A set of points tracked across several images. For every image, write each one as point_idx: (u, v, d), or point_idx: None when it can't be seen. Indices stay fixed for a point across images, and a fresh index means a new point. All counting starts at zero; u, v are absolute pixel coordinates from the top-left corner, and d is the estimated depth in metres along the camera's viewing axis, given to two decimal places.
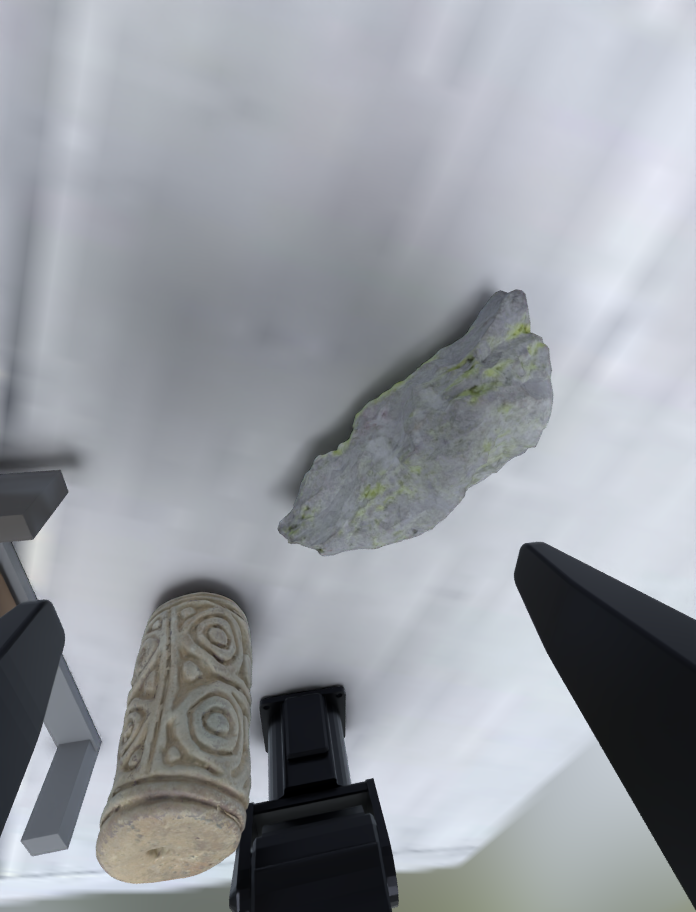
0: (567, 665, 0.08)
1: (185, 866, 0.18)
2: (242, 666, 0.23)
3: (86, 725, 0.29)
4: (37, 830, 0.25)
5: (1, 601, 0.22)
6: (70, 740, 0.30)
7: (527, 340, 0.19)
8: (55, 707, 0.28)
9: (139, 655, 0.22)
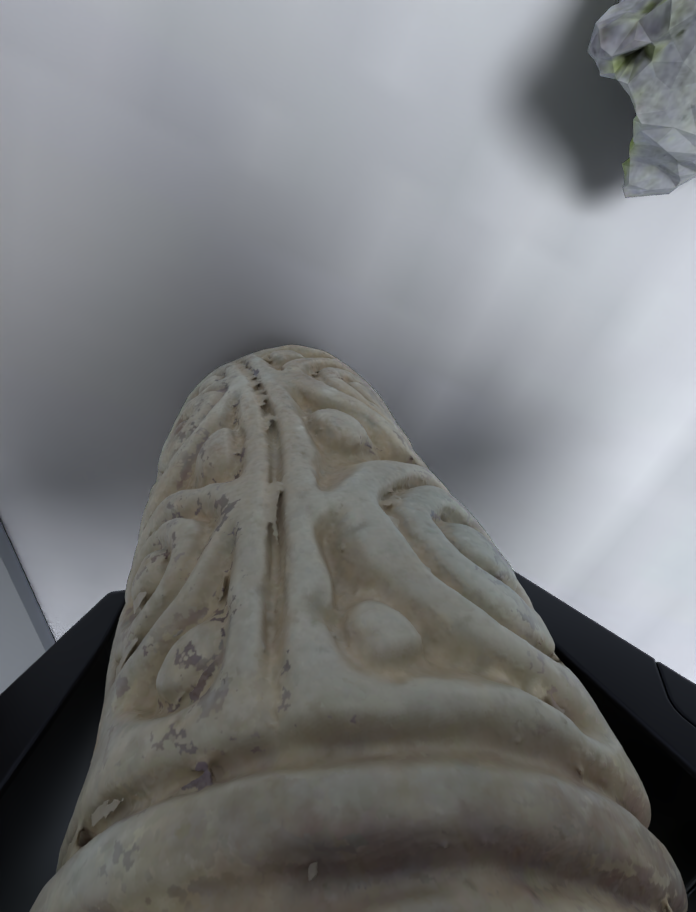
0: None
1: None
2: None
3: None
4: None
5: None
6: None
7: None
8: None
9: (170, 438, 0.08)
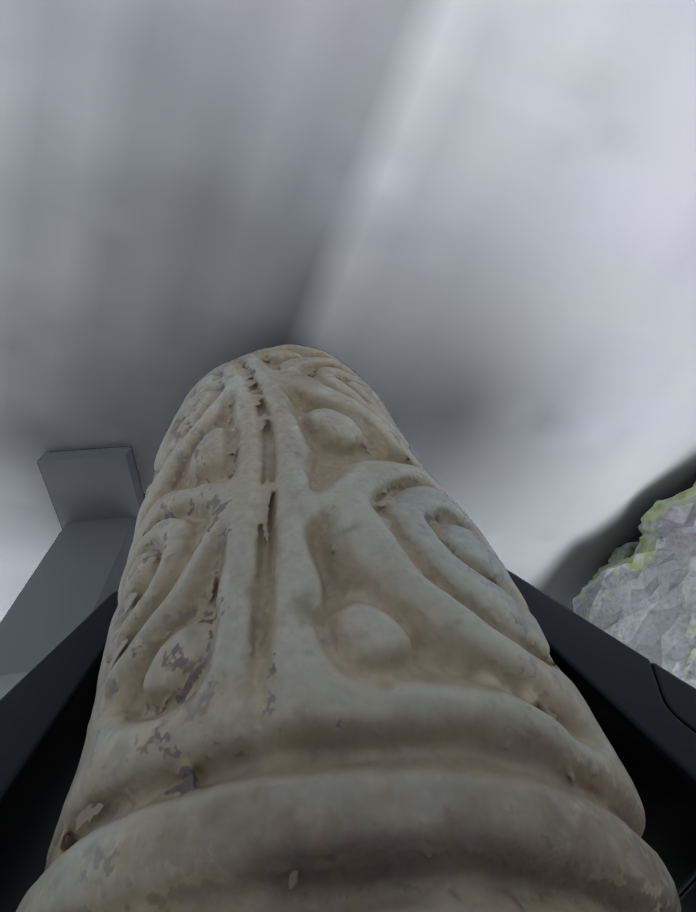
0: None
1: None
2: None
3: None
4: None
5: None
6: None
7: None
8: None
9: (166, 438, 0.08)
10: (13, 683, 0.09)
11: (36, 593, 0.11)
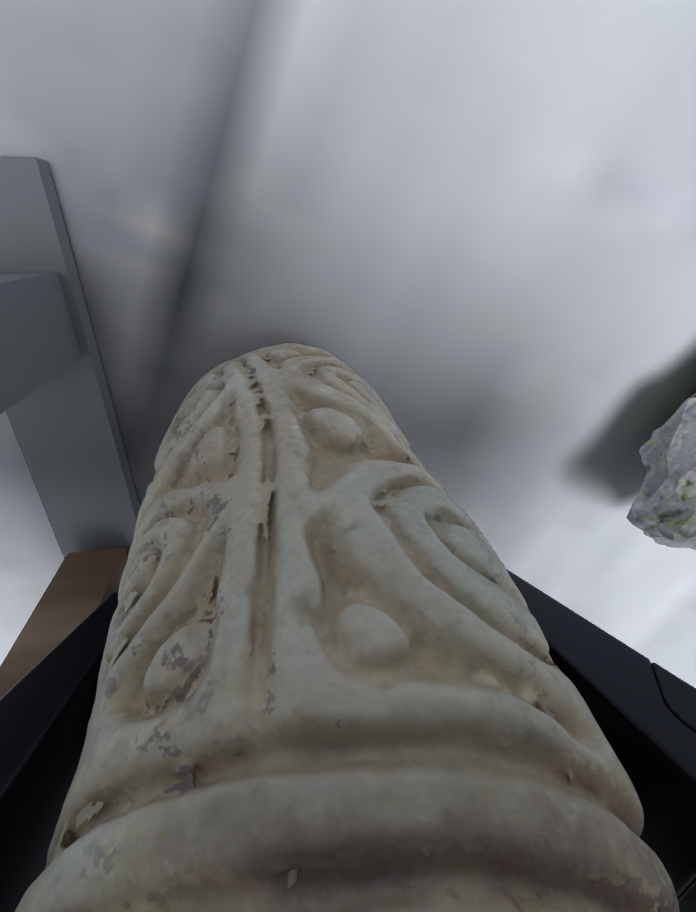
0: None
1: None
2: None
3: None
4: None
5: None
6: None
7: None
8: None
9: (167, 436, 0.08)
10: None
11: None
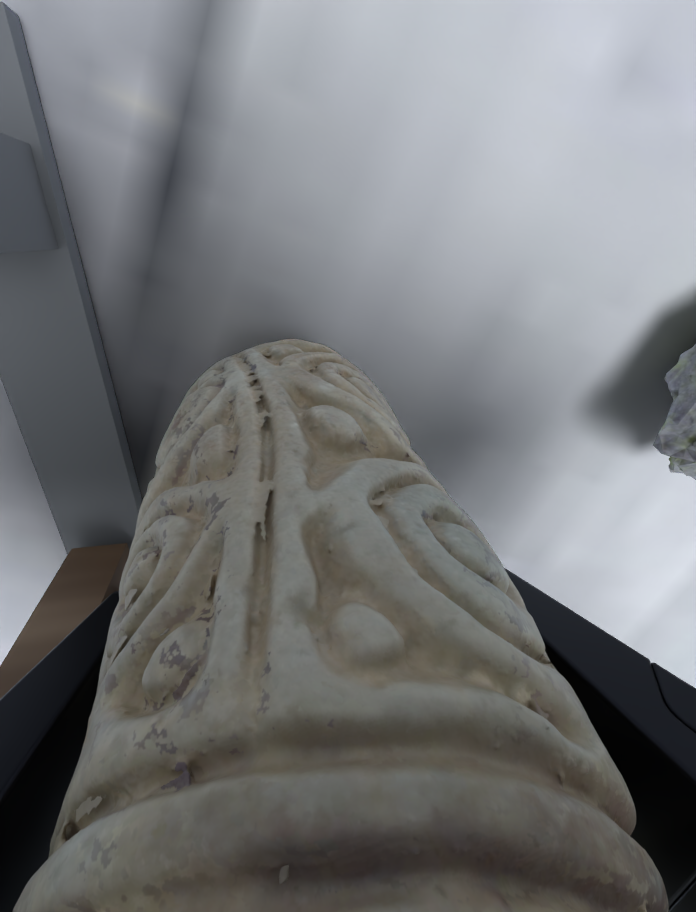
0: None
1: None
2: None
3: None
4: None
5: None
6: None
7: None
8: None
9: (168, 433, 0.08)
10: None
11: None
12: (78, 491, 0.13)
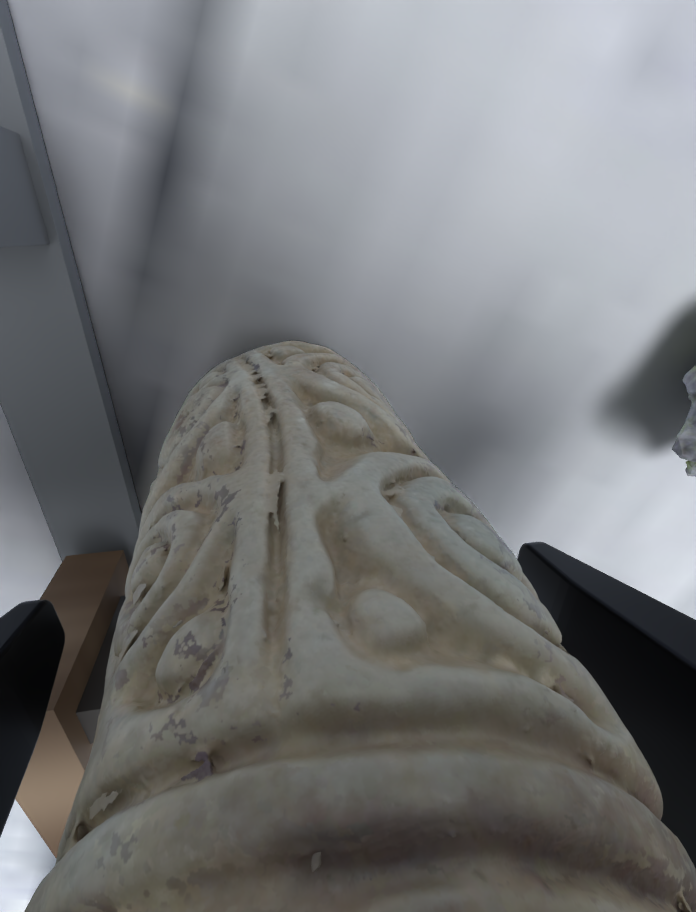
0: None
1: None
2: None
3: None
4: None
5: None
6: None
7: None
8: None
9: (170, 434, 0.08)
10: None
11: None
12: (73, 495, 0.12)
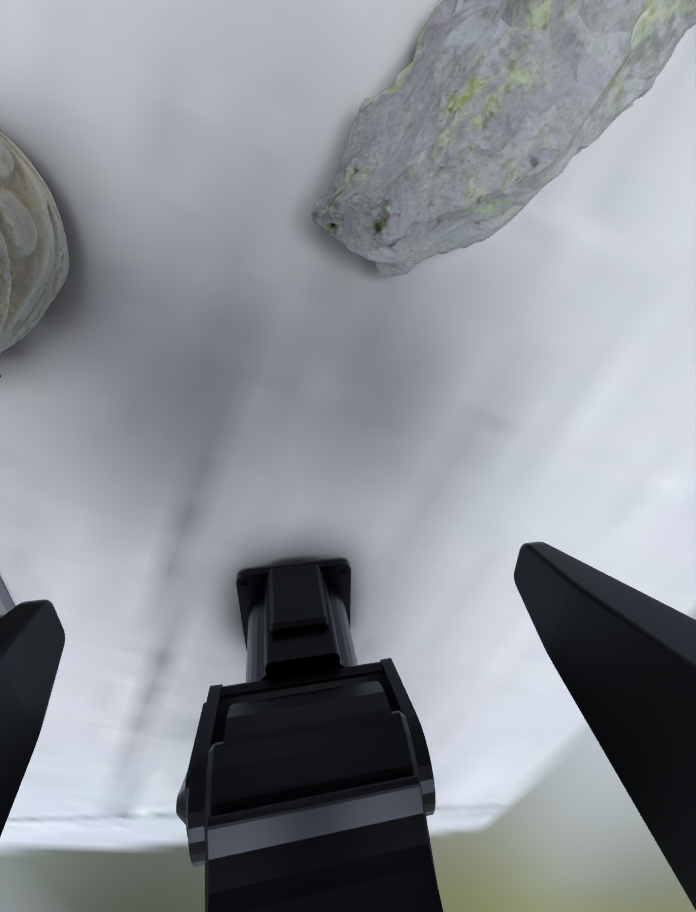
0: (567, 665, 0.08)
1: None
2: None
3: None
4: None
5: None
6: None
7: None
8: None
9: None
10: None
11: None
12: None
